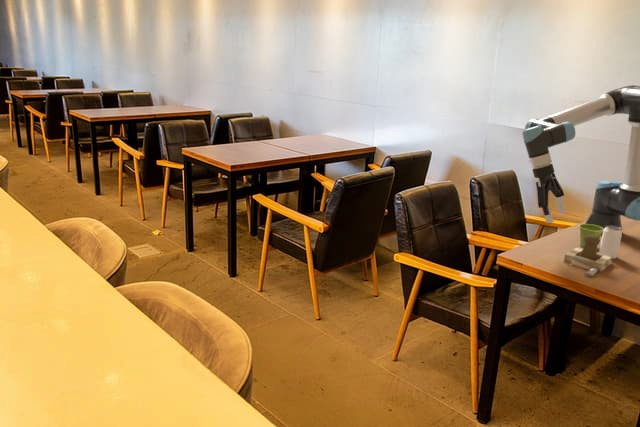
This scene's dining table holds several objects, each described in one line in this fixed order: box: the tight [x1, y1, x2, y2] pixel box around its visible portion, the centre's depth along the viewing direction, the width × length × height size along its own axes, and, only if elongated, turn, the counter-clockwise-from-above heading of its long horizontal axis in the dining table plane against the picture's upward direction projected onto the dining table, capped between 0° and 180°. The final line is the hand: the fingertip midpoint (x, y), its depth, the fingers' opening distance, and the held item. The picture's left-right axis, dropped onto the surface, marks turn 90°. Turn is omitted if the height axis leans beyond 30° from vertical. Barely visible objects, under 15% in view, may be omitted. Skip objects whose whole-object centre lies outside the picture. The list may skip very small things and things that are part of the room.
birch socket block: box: [563, 246, 613, 273], centre depth 204 cm, size 13×13×3 cm
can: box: [598, 225, 623, 260], centre depth 210 cm, size 6×6×12 cm
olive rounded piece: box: [580, 235, 601, 261], centre depth 202 cm, size 6×6×11 cm
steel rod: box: [586, 266, 599, 278], centre depth 194 cm, size 10×2×2 cm, turn 136°
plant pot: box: [578, 223, 604, 248], centre depth 220 cm, size 9×9×9 cm
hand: (556, 217), depth 211 cm, fingers open, 13 cm apart
